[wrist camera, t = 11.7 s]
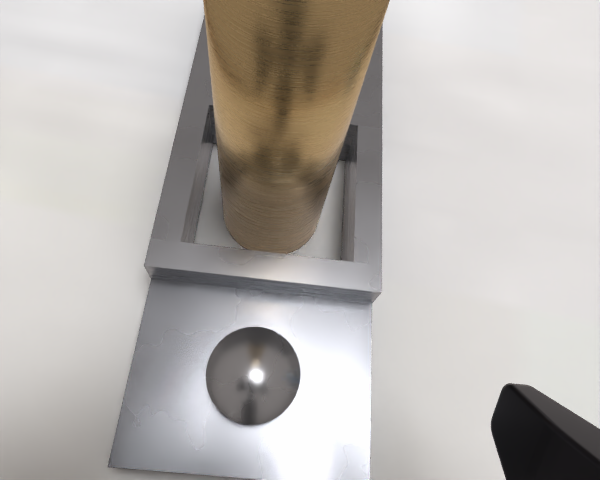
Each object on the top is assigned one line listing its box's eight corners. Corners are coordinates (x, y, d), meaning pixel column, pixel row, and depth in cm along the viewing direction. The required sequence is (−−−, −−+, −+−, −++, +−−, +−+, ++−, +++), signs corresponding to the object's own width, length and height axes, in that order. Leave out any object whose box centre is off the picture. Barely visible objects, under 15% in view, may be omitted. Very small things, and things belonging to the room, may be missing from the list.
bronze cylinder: (304, 267, 18) (400, -23, 7) (209, 239, 18) (152, -94, 7) (328, 186, 20) (436, -153, 9) (241, 160, 20) (236, -209, 9)
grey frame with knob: (360, 485, 15) (389, 495, 12) (118, 465, 15) (85, 470, 12) (369, 24, 25) (387, -34, 22) (221, 2, 24) (218, -61, 21)
